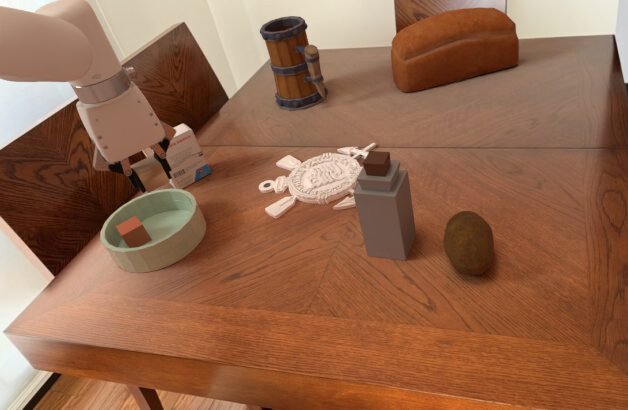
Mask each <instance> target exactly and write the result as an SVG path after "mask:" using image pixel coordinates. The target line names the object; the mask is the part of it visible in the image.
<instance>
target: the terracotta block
mask: <svg viewBox="0 0 628 410" xmlns="http://www.w3.org/2000/svg"><path fill="white" fill-rule="evenodd" d="M115 227H116V229H117V230H118V232H119V234H120V235H121V237H122V238H123V240H124V241H125V243H126V244H127V245H128V247H129V248H135V247H140V246H141V245H143V244H145V243H147V242H149V241H150V240H151V238H150V236H149V234H148V233H147V231H146V229H145V228H144V226H143V224H142V223H141V222H140V221H139V220H138V218H137V217H136V216H134V217H132V218H130V219H128V220H126V221H125V222H123V223H121V224H119V225H117V226H115Z"/></svg>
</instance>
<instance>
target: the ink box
mask: <svg viewBox="0 0 628 410" xmlns="http://www.w3.org/2000/svg"><path fill="white" fill-rule="evenodd" d="M173 128H174V129H175V130H176V134H175V136H174V137H173V139H172V140H171V141H170V144H169V147H168V150H167V152H166V154H167V156H166V159H167V161H168V163H169V165H170V167H171V169H172V171H170V172H169V173H170V175H171V177H172V178H171V179H169V181H170V182H169V183H168V184H170V186H172V188H173V189H182V190H183V189H184V188H186V187H188V186H190V185H192V184H194V183H195V182H197V181H199V180H201V179H203V178H205V177H206V176H208V175H210V174H212V171H211V168H210V166H209V163H208V161H207V159H206V157H205V154H204V152H203V151H202V148H201V146H200V144H199V142H198V139H197V137H196V134H195V133H194V131H193V129H192V128H190V127H189V126H188V125H187V124H185V123H180V124H179V125H176V126H174V127H173ZM151 151H152V153H153V154H154V151H153V150H152V149H151Z"/></svg>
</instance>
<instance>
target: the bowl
mask: <svg viewBox="0 0 628 410" xmlns="http://www.w3.org/2000/svg"><path fill="white" fill-rule="evenodd" d="M134 216H136V217H137V218H138V220H139V221H140V222H141V223H142V224H143V226H144V228H145V229H146V231H147V233H148V234H149V236H150V238H151V240H150V241H149V242H147V243H145V244H143V245H141V246H140V247H135V248H129V247H128V245H127V244H126V243H125V241H124V240H123V238H122V237H121V235H120V234H119V232H118V230H117V229H116V227H115V226H117V225H119V224H121V223H123V222H125V221H126V220H128V219H130V218H132V217H134ZM207 224H208V223H207V221H206V218H205V215H204V213H203V211H202V209H201V207H200V205H199V203H198V201H197V199H196V197H195V196H194V194H192V192H190V191H187V190H185V189H183V188H182V189H175V188H164V189H156V190H153V191H151V192H150V193H148V192H145V193H143V194H142V195H139V196H137V197H135V198H133V199H131V200H129V201H128V202H126V203H124V204H123V205H121V206H119V208H117V209H116V210H115V211H114V212H113V213H112V214H110V216H109V217H108V218H107V219H106V220H105V222H104V224H103V225H102V228H101V230H100V233H99V234H100V238H99V239H100V242H101V243H102V245H103V246H104V248H105V249H106V250H107V252H108V254H109V255H110V257H111V258H112V259H113V261H114V262H115V264H116V265H117V267H118V268H120V269H121V270H123V271H125V272H128V273H135V274H143V273H149V272H155V271H158V270H161V269H164V268H167V267H170V266H172V265H174V264H175V263H177V262H179V261H181V260H182V259H184V258H185V257H187V256H188V255H189V254H190V253H192V252H193V251H194V250H195V249H196V248H197V247H198V246H199V245H200V243H201V242H202V241H203V239H204V237H205V234H206V232H207V226H208V225H207Z"/></svg>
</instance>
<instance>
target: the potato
mask: <svg viewBox="0 0 628 410" xmlns="http://www.w3.org/2000/svg"><path fill="white" fill-rule="evenodd" d="M494 245H495V243H494V233H493V229H492V227H491V225H490V224H489V222H488V221H486V219H484V218H483V217H482V216H481V215H480V214H478V213H477V212H475V211H471V210H461V211H459V212H456V213H454V214H453V215H452V216H451V217H450V218H449V220H448V222H447V223H446V226H445V230H444V234H443V238H442V247H443V250H444V252H445V254H446V257H447V258H448V260H449V262H450V263H451V264H452V266H453V267H454V269H455V270H456V271H457V272H459V273H461V274H463V275H465V276H470V277H474V276H475V277H476V276H480V275H481V274H483V273H485V272H486V271H487V270H488V269H489V268H490V267H491V265H492V262H493V259H494Z"/></svg>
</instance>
